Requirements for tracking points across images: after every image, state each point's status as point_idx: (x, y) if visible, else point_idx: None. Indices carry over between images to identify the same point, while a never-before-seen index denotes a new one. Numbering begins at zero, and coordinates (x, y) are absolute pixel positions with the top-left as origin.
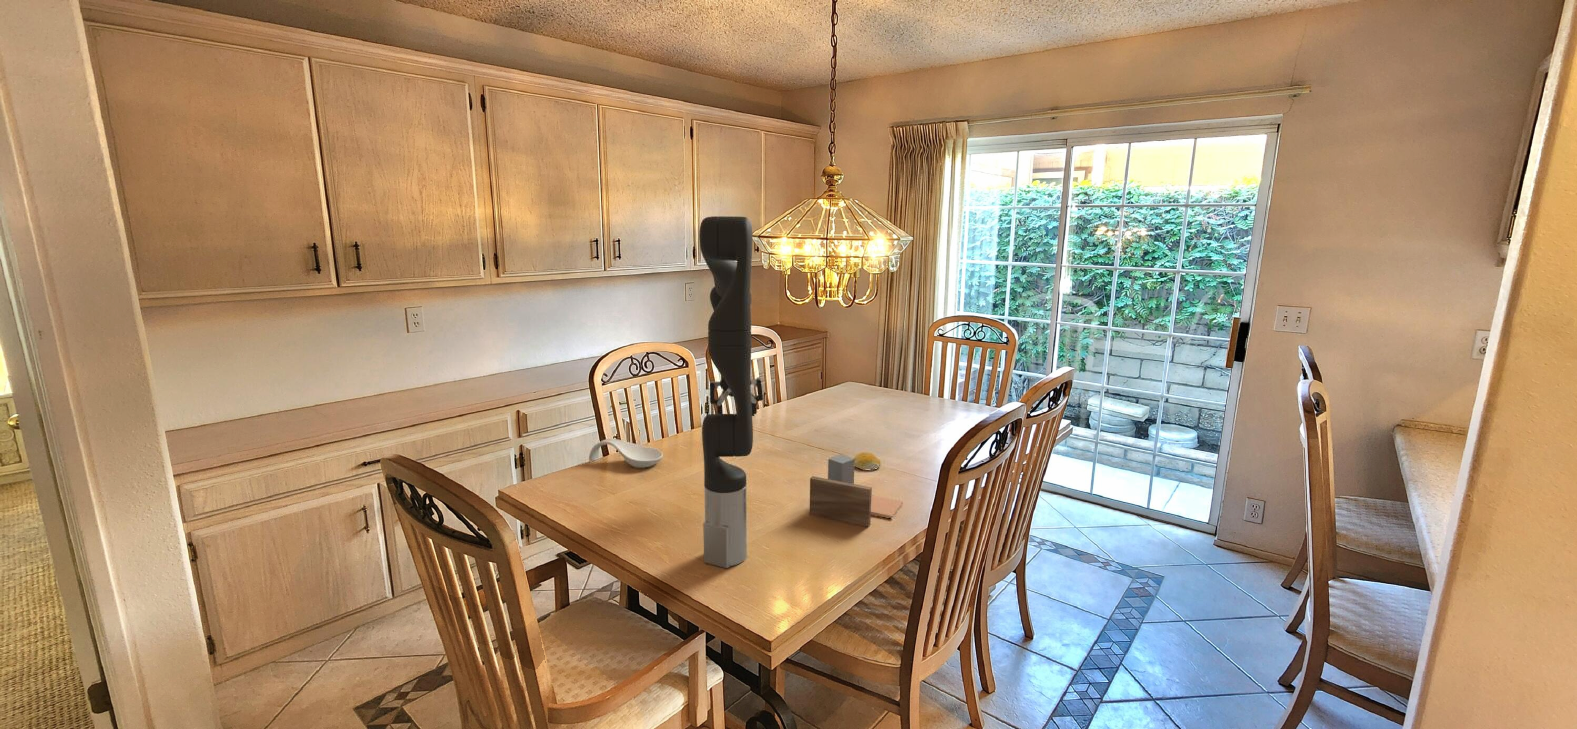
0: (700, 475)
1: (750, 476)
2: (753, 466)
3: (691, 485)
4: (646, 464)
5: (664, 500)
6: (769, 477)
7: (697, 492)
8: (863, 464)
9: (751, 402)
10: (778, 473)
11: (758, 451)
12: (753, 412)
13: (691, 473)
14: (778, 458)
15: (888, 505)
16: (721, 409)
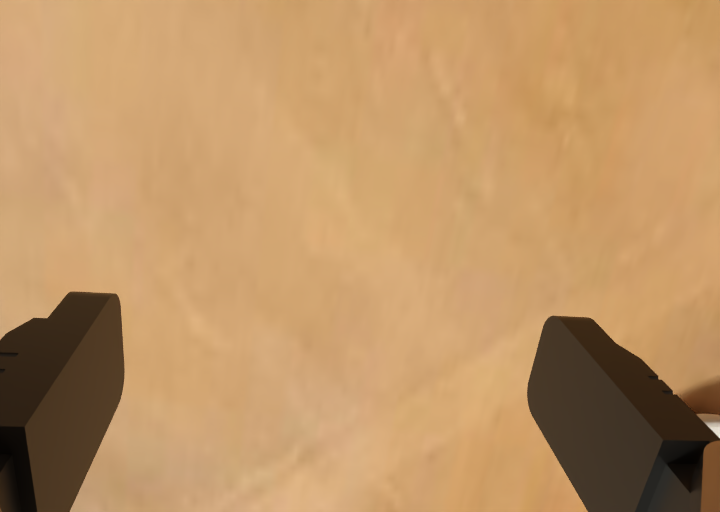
0: (478, 317)
1: (251, 271)
2: (227, 373)
3: (542, 218)
4: (697, 415)
5: (713, 63)
6: (157, 245)
7: (534, 130)
8: None
9: (25, 506)
10: (109, 283)
11: (193, 508)
12: (63, 317)
13: (512, 343)
14: (106, 436)
15: None
16: (638, 392)
